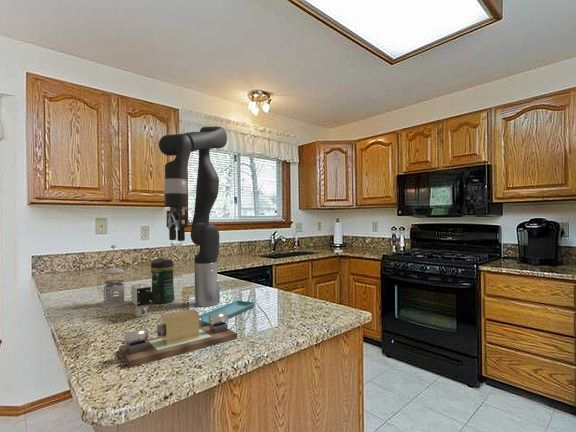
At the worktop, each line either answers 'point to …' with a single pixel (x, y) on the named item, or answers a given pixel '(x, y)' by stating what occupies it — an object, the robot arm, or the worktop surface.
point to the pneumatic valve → (141, 298)
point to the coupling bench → (155, 349)
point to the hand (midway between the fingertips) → (176, 240)
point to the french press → (113, 288)
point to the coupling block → (179, 326)
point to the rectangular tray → (228, 310)
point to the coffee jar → (162, 280)
